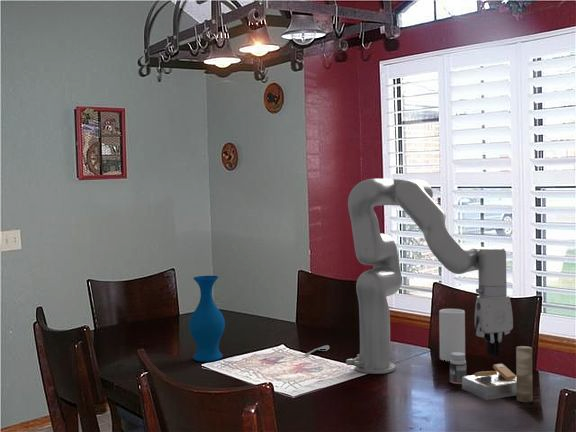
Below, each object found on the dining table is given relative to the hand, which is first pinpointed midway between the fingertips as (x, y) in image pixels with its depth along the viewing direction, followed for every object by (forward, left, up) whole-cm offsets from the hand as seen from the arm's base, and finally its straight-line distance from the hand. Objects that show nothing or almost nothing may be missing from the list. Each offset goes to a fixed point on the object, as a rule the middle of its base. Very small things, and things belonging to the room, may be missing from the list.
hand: (493, 355), depth 187 cm
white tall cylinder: (+9, +32, -10) cm, 35 cm away
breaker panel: (-1, -2, -9) cm, 10 cm away
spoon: (-31, +58, -10) cm, 67 cm away
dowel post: (+1, -11, -9) cm, 15 cm away
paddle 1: (-4, -2, -5) cm, 7 cm away
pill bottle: (-5, +10, -10) cm, 14 cm away
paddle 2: (+2, -2, -5) cm, 6 cm away
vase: (-65, +68, -10) cm, 95 cm away
